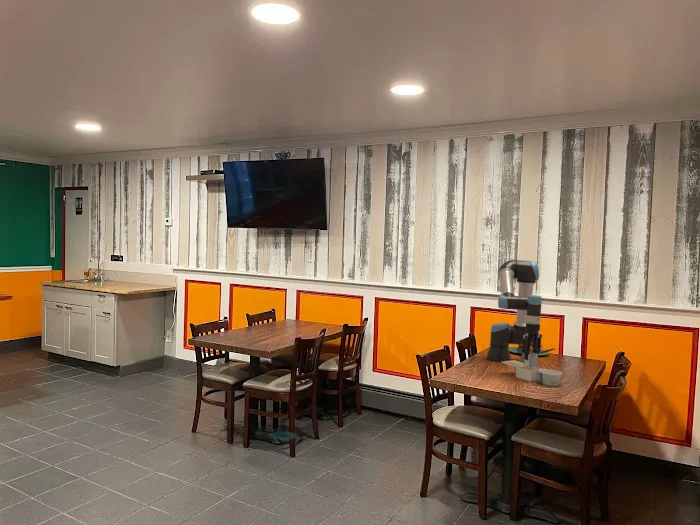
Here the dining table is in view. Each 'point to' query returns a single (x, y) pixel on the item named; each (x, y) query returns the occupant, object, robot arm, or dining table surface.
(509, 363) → the lid
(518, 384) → the dining table surface
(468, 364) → the dining table surface
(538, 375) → the mailer base
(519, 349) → the sailing ship model
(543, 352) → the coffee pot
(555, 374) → the food container
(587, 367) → the dining table surface
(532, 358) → the block
